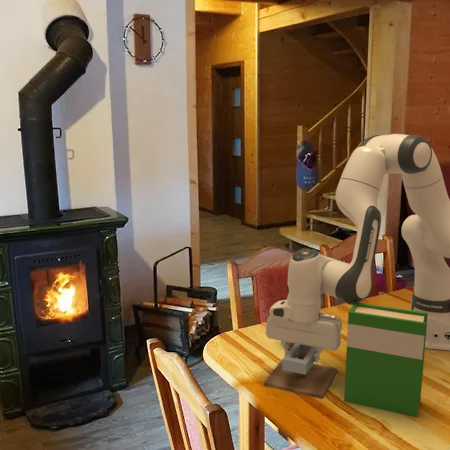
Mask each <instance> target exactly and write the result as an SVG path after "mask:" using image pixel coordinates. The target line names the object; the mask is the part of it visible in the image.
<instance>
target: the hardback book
mask: <svg viewBox="0 0 450 450" xmlns="http://www.w3.org/2000/svg"><path fill="white" fill-rule="evenodd" d="M347 315H348V316H347V332H346V333H347V335H346V337H347V338H346V339H347V340H346V357H345V371H344V372H345V375H344V376H345V377H344V393H343V394H344V395H343V401H344V402H345V403H350V404H355V405H359V406H364V407H368V408H371V409H372V408H373V409H378V410H383V411H386V412H392V413H396V414H401V415H405V416H409V417H414V418H418V416H419V405H420V404H421V398H422V387H423V386H422V385H423V375H424V362H425V352H426V351H425V350H426V348H425V341H426V329H427V318H428V313H426V312H419V311H412V310H411V309H405V308H397V307H391V306H385V305H379V304H378V305H376V304H369V303H364V302H360V303H357V302H354V304H353V305H351V307H350V308H349V311H348V314H347Z"/></svg>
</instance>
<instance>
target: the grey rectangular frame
mask: <svg viewBox="0 0 450 450" xmlns="http://www.w3.org/2000/svg"><path fill="white" fill-rule="evenodd" d="M299 352H305V353H308V354H307V355H306V356H305V358H304V359H303V360H302V359H297V354H298V353H299ZM318 352H319V351H317V347H312V346H307V345H301V344H296V343H295V344H294V345H293V347H292V348H291V349H290V350H289V352H288V353H287V354H286V355H285V354H284V357H283V358H282V359H281V360H282V370H286V371H290V372H295V373H300V374H304V375H306V374H307V372H308V371H309V369H310V368H311V366H312V365H313V364H315V362H314V361H313V355H314V353H318Z"/></svg>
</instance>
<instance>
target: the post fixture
mask: <svg viewBox="0 0 450 450" xmlns="http://www.w3.org/2000/svg"><path fill="white" fill-rule="evenodd" d="M307 354H308V353H305V352H299V353H298V354H297V359H302V360H303V359H304V358H305V356H306V355H307ZM337 373H338V368H336V367H332V366H326V365H321V364H316V363H313V365H312V366H311V368H310V369H309V371H308V372H307V374H306V375H304V374H300V373H295V372H290V371H286V370H282V359H281V360H280V362H279V363H278V364H277V366H275V368H274V369H273V370H272V371H271V373H270V374H269V375H268V376H267V378H266V379H265V381H264V382H263V386H265V387H270V388H274V389H279V390H283V391H287V392H291V393H296V394H301V395H305V396H309V397H314V398H317V399H321V400H322V399H324V398H325V395H326V393H327V391H328V390H329V388H330V386H331V385H332V382H333V381H334V378H335V376H337Z"/></svg>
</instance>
